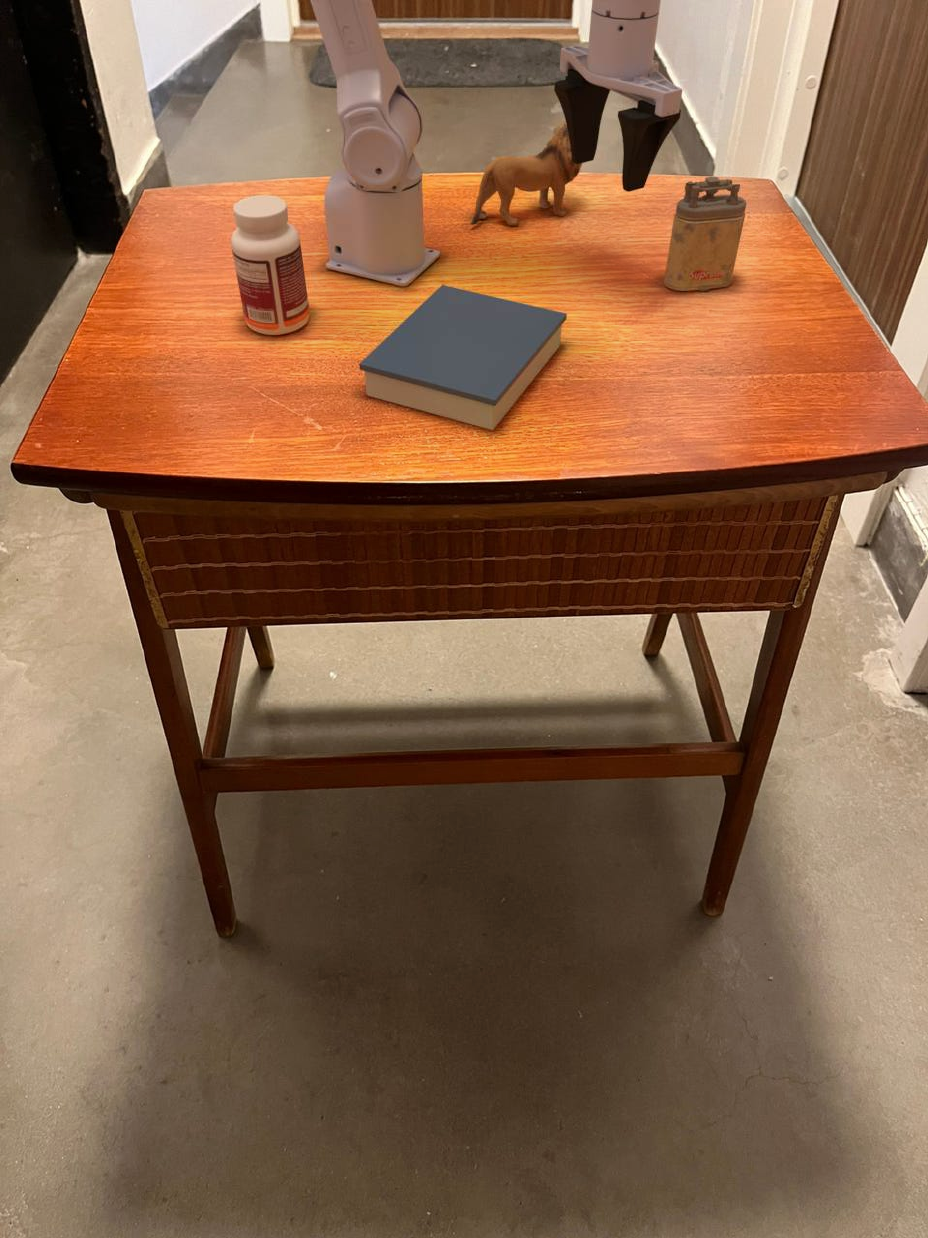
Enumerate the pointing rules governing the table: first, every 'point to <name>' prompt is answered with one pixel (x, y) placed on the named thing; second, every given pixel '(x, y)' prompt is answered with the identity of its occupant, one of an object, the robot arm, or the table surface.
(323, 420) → the table surface
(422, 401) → the blue book
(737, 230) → the lighter
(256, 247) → the pill bottle
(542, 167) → the lion figurine
